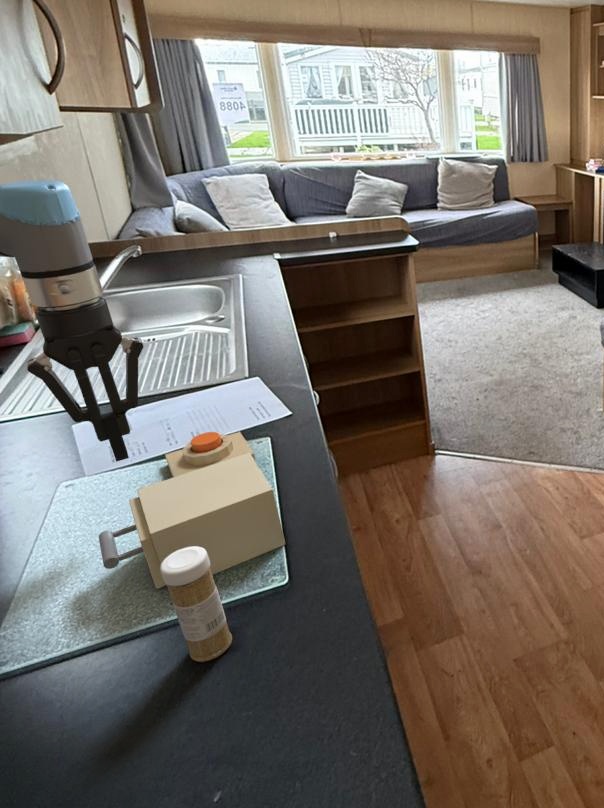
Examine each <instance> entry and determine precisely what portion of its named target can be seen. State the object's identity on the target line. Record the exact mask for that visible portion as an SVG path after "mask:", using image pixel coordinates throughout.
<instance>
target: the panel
mask: <svg viewBox="0 0 604 808" xmlns="http://www.w3.org/2000/svg"><path fill="white" fill-rule="evenodd" d="M219 434H220V438H221V442H222V445H221V446H220V447H218V448H216V449H215V450H212V451H208V452H203V453H195V452H193V449H192V445H191V441H190V442H188V443H186V444H185V446H184V447H183V448H182V449H178V450H175V451H172V452H169V453H166V454H164V457H165V459H166V460H165V461H166V463H167V467H168V469H169V471H170V474H171V476H172V478H173V477H177V476H180V475H183V474H186V473H189V472H192V471H195V470H198V469H201V468H204V467H207V466H210V465H213V464H216V463H219V462H222V461H226V460H229V459H232V458H235V457H238V456H241V455H244V454H247V453H250V454H251V456H252V458H253V459H254V461H255V462H256V464H257V465H258V463H257V460H256V455H255V453H254V451H253V449H252V448H251V446H250V444H248V442H247V440H246V438H245V437H244V436H243V434H242V432H241V431H237V432H234V433H231V434H228V435H227V434H222V433H219Z"/></svg>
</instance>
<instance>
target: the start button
mask: <svg viewBox="0 0 604 808" xmlns="http://www.w3.org/2000/svg"><path fill="white" fill-rule="evenodd" d="M220 434H221V433H219V432H216V431H207V432H203V433H200V434H197V435H195V436H194V437H193V438H191V440H190V442H191V445H192V449H193V452H195V453H203V452H208V451H212V450H215V449H216V448H218V447H220V446H221V445H222V442H221V438H220Z"/></svg>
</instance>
